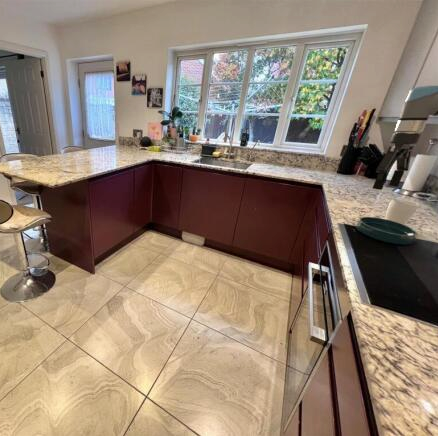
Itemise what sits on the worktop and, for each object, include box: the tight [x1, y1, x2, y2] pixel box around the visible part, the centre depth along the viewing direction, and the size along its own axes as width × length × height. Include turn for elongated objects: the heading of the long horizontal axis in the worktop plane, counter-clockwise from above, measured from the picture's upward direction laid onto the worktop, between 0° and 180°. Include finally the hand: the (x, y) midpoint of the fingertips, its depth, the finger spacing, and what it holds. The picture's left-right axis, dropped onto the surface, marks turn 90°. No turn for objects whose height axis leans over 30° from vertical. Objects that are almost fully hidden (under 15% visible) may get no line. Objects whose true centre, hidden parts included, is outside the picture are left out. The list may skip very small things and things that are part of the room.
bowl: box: [355, 216, 418, 246], centre depth 100 cm, size 18×18×4 cm
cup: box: [384, 198, 420, 225], centre depth 108 cm, size 9×9×12 cm
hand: (385, 187), depth 95 cm, fingers open, 13 cm apart
